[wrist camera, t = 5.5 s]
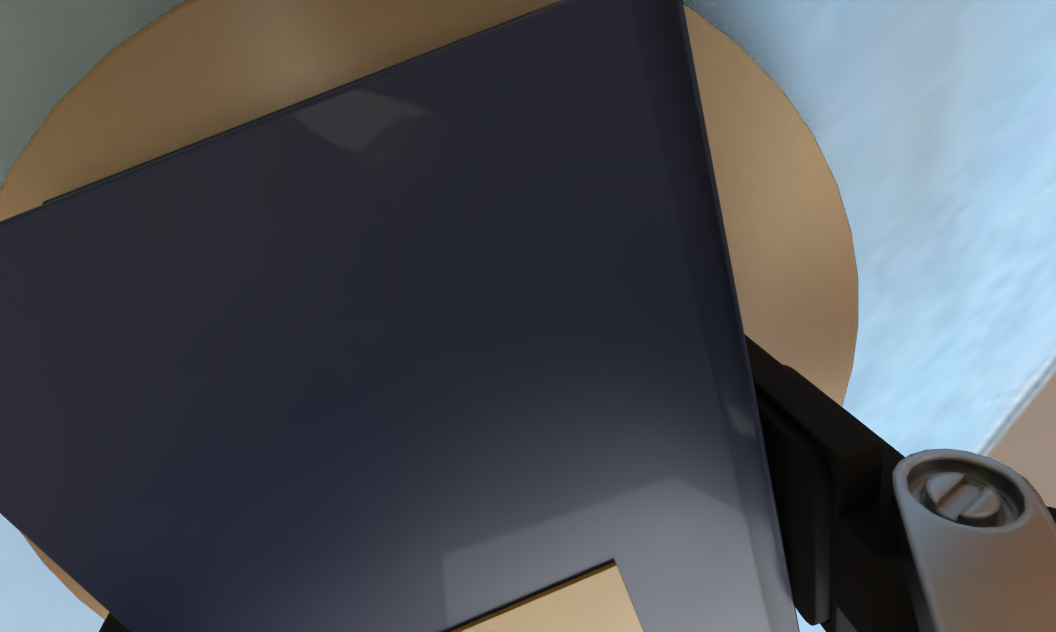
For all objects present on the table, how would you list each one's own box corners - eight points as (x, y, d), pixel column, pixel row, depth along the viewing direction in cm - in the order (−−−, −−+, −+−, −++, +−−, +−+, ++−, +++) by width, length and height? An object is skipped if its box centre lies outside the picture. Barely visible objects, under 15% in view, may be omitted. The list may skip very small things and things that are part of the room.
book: (-312, 194, 7) (-1174, 358, 3) (793, -229, 7) (1206, -530, 4) (300, 766, 14) (260, 1040, 10) (860, 527, 14) (1029, 701, 10)
